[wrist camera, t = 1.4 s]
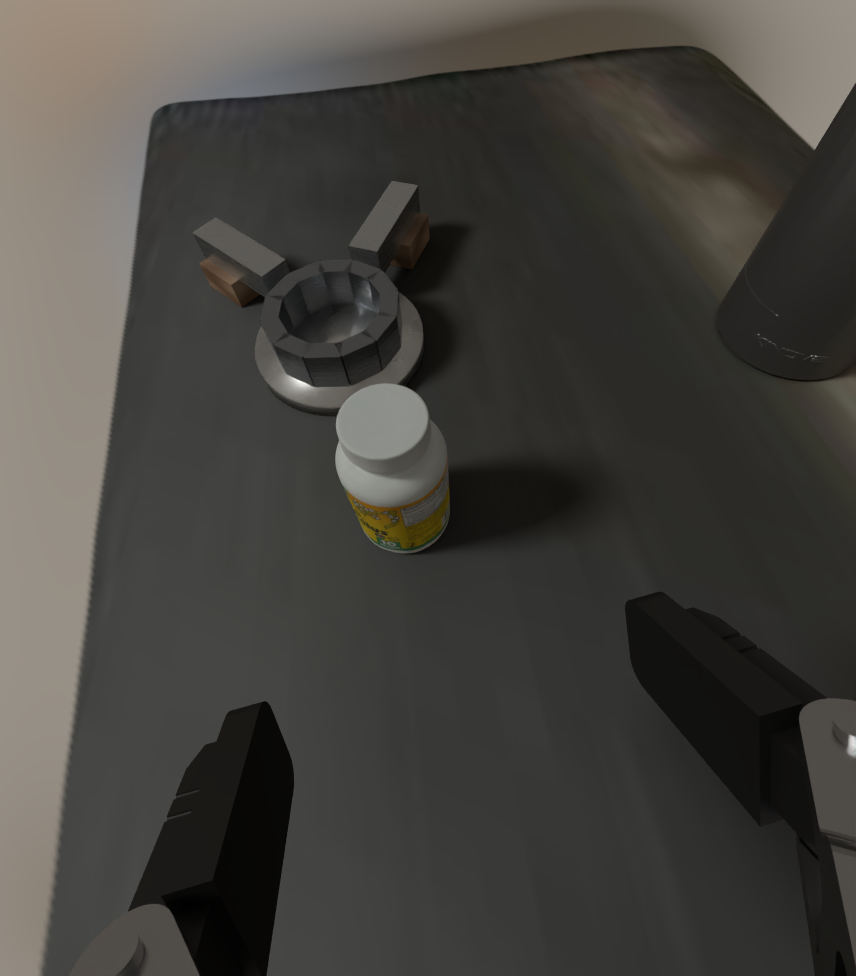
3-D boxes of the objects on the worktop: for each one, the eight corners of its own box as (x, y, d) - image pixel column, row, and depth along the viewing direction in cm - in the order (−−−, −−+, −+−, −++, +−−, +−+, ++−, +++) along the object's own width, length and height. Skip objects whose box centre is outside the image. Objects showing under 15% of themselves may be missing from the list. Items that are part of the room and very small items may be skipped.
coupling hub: (324, 274, 39) (311, 227, 35) (453, 323, 36) (453, 277, 32) (227, 375, 35) (200, 334, 31) (364, 442, 31) (352, 405, 28)
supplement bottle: (468, 522, 28) (472, 429, 20) (392, 574, 27) (362, 499, 19) (416, 459, 30) (399, 351, 22) (344, 505, 29) (297, 410, 21)
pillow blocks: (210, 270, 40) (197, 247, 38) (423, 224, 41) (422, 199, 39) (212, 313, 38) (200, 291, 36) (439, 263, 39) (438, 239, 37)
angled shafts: (300, 175, 42) (293, 148, 40) (435, 217, 38) (433, 190, 36) (193, 269, 37) (179, 243, 35) (336, 329, 33) (328, 303, 31)
